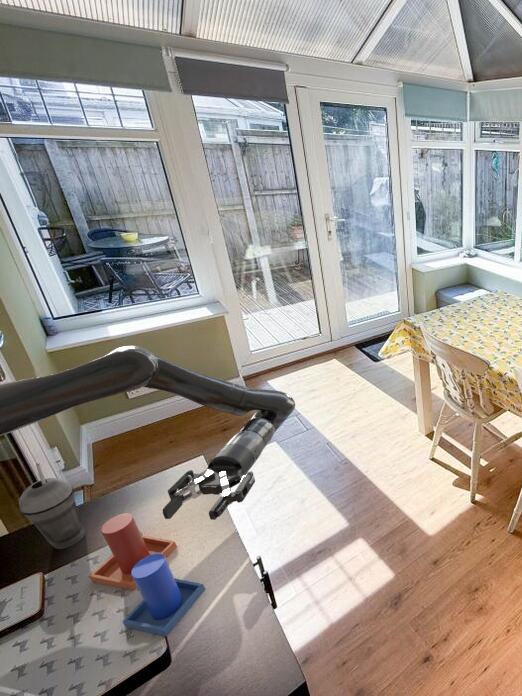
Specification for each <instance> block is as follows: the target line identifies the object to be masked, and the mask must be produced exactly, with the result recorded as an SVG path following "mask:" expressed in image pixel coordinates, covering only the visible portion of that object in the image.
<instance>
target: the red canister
mask: <svg viewBox="0 0 522 696" xmlns="http://www.w3.org/2000/svg"><path fill="white" fill-rule="evenodd" d="M100 532H101V534H102V537H103V538H104V539H105V542H106V545H108V548H109V549H110V552H111V553H112V555H113V556H114V557H115V559H116V561H117V563H118V565H119V567H120V569H121V571H122V573H124V574H131V572H132V569H133V567H134V566H135V565H136V564H137V563H138V562H139V561H140V560H142V559H143V558H145V557H147V556H149V555H150V553H149V551H148V549H147V546H146V544H145V542H144V540H143V538H142V536H141V535H142V534H141V531H140V529H139V527H138V525H137V523H136V520H135V518H134V516H133V514H131V513H128V512H125V513H121V514H118V515H115V516H113V517H111V518H109V519H108V520H107V521H106V522H104V524H103V525H102V526H101V528H100Z"/></svg>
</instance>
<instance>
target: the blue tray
mask: <svg viewBox="0 0 522 696" xmlns="http://www.w3.org/2000/svg"><path fill="white" fill-rule="evenodd" d="M174 579H175V581H176V584H177V586H178V588H179V590H180V593H181V595H182V597H183V602H182V604H181V606H180V608H179V609H178V610H177V611H176V612H175V613H174V614H172V615H171V616H169V617H167V618H165V619H162V620H155V619H154V618H153V617H152V616H151V614H150V612H149V610H148V608H147V606H146V603H145V601H144V599H143V598H142V600H141V601H140V602H139V604H138V605H136V607H135V608H134V609H133V610H132V611H131V612H130V613H129V614H128V615H127V616H126V617H125V618H124V619H123V621H122V624H123V626H124V628H126V629H129V630H135V631H139V632H144V633H147V634H153V635H157V636H161V637H164V638H165V637H168V635H169V634H170V633H171V632H172V631H173V630H174V629H175V627H176V626H177V625H178V624H179V622H180V621H181V620H182V618H183V617H184V616H185V615H186V614H187V613H188V611H190V609H191V608H192V607H193V605H194V604H195V603H196V602H197V601H198V599H200V597H201V595H202V594H203V593H204V592H205V591H206V587H205V584H204V583H201V582H196V581H195V582H194V581H190V580H185V579H180V578H175V577H174Z"/></svg>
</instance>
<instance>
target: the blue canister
mask: <svg viewBox="0 0 522 696" xmlns="http://www.w3.org/2000/svg"><path fill="white" fill-rule="evenodd" d="M131 575H132V577H133V579H134V581H135V583H136V585H137V590H138V591H139V594H140V595H141V598H142V600H143V599H144V601H145V603H146V606H147V608H148V610H149V612H150V614H151V616H152V617H153V618H154V619H155V620H162V619H165V618H167V617H169V616H171V615H172V614H174V613H175V612H176V611H177V610H178V609H179V608H180V606H181V604H182V602H183V597H182V595H181V593H180V590H179V588H178V586H177V584H176V581H175V579H174V578H175V577H174V575H173V573H172V570H171V568H170V565H169V563H168V561H167V557H166V558H165V556H164V555H163V554H160V553H156V554H152V555H149V556H147V557H145V558H143V559H142V560H140V561H139V562H138V563H137V564H136V565H135V566H134V567H133V569H132V572H131Z"/></svg>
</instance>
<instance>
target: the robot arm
mask: <svg viewBox="0 0 522 696" xmlns="http://www.w3.org/2000/svg"><path fill="white" fill-rule="evenodd" d="M141 388H147V389H152V390H157V391H161V392H166V393H170V394H173V395H176V396H179V397H181V398H183V399H186V400H189V401H191V402H194V403H196V404H198V405H201V406H204V407H206V408H208V409H212V410H215V411H219V412H222V413H226V414H230V415H232V416H233V415H234V416H239V417H241V416H244V415H247V414H248V413H249V412H252V411H255V413H254V414H253V415H252V417H251V418H250V419H249V420H248V421H247V422H245V424H244V425H243V426H242V427H241V428H240V429H239V430H238V431H237V433H236V434H234V436H232V437H231V438H230V439H229V440H228V441H227V442H226V443H225V445H223V446H222V447H221V449H220V450H219V451H218V452H217V453H216V454H215V455H214V457H212V459H211V460H210V461H209V463H208V465H207V468H206V469H205V470H203V471H202V472H200V473H194V470H192V469H189V470H188V471H186V472H185V473H184V474H183V475H182V476H181V477H180V478H179V479H177V481H176V482H174V483H173V484H172V486H171V487H170V488H168V489H167V493H168V496H169V501H168V502H167V504H166V505H165V506H164V507H163V508H162V514H163V518H164V519H165V520H171V519H172V517H174V515H175V514H176V513H177V512H178V511H179V509H180V508H181V507H182V506H183V505H184V503H186V502H188V501H190V500H191V499H194V500H195V499H198V498H199V497H201V496H202V495H203V496H205V495H214V496H219V495H220V494H222V496H220V497H219V498H218V499H217V500H216V502H215V503H214V504H213V506H212V507H211V508H210V509H209V511H208V516H209V519H210V521H216V520H217V519H218V518H219V517H221V516H222V515H223V514H224V512H225V511H226V509H228V506H229V505H232V504H233V503H235V502H236V503H238V504H239V503H242V502H244V500H245V498H246V497H247V496H248V494H249V492H250V491H251V489H252V488H253V486H254V485H255V483H256V479H255V475H254V472H253V471H250V470H251V469H252V467H253V466H254V465H255V464H256V462H257V461H258V459H259V458H260V456H261V455H262V452H263V451H264V450H265V448H266V447H267V445H268V444H269V443H270V442H271V440H272V439H273V437H274V435H275V433H276V432H277V431H278V429H279V428H280V427H281V426H282V425H283V424H284V423H285V421H286V420H287V419H288V418H289V417H290V416H291V415H292V413H293V412H294V411H295V409H296V401H295V399H294V397H292V396H291V395H290V394H289V393H287V392H284V391H281V390H274V389H263V388H250V387H247V386H245V385H241V384H237V383H234V382H231V381H228V380H225V379H221V378H218V377H214V376H211V375H207V374H205V373H201V372H197V371H195V370H191V369H189V368H186V367H183V366H180V365H177V364H176V363H173V362H171V361H168V360H166V359H164V358H162V357H160V356H159V355H156V354H154V353H153V352H151V351H149V350H148V349H146V348H144V347H141V346H138V345H124V346H120V347H117V348H115V349H113V350H111V351H109V352H108V353H107V354H105V355H104V356H101V357H97V358H96V359H94V360H91V361H88V362H86V363H82V364H80V365H78V366H75V367H72V368H69V369H66V370H63V371H59V372H56V373H52V374H47V375H42V376H36V377H31V378H25V379H24V378H23V379H20V380H14V381H10V382H5V383H1V384H0V437H1V436H4V435H7V434H10V433H13V432H15V431H18V430H20V429H23V428H26V427H28V426H31V425H33V424H36V423H39V422H41V421H44V420H47V419H49V418H51V417H53V416H56V415H58V414H60V413H63V412H65V411H67V410H70V409H73V408H75V407H78V406H81V405H84V404H88V403H91V402H95V401H98V400H103V399H105V398H109V397H110V398H111V397H112V396H117V395H120V394H121V395H122V394H126V393H129V392H134V391H136V390H139V389H141ZM237 485H238V486H237ZM197 486H198V488H199V489H198V490H197V491H196V487H197ZM235 486H237V487H236V489H235V490H234V491H232V488H233V487H235ZM186 493H187V494H186ZM185 494H186V495H185Z"/></svg>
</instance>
